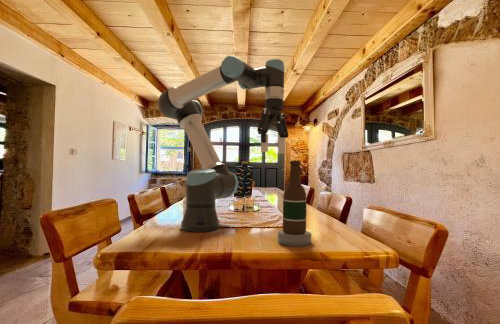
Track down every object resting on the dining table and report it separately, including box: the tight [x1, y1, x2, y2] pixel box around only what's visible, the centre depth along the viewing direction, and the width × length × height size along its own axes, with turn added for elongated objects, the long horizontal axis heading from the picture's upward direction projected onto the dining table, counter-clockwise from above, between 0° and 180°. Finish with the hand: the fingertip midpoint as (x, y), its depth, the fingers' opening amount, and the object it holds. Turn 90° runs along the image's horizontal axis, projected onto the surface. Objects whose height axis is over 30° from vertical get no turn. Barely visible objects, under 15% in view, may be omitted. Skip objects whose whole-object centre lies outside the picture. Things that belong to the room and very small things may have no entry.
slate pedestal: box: [277, 229, 312, 248], centre depth 91 cm, size 11×11×3 cm
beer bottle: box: [282, 160, 307, 235], centre depth 91 cm, size 8×8×24 cm
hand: (273, 152), depth 109 cm, fingers open, 13 cm apart
